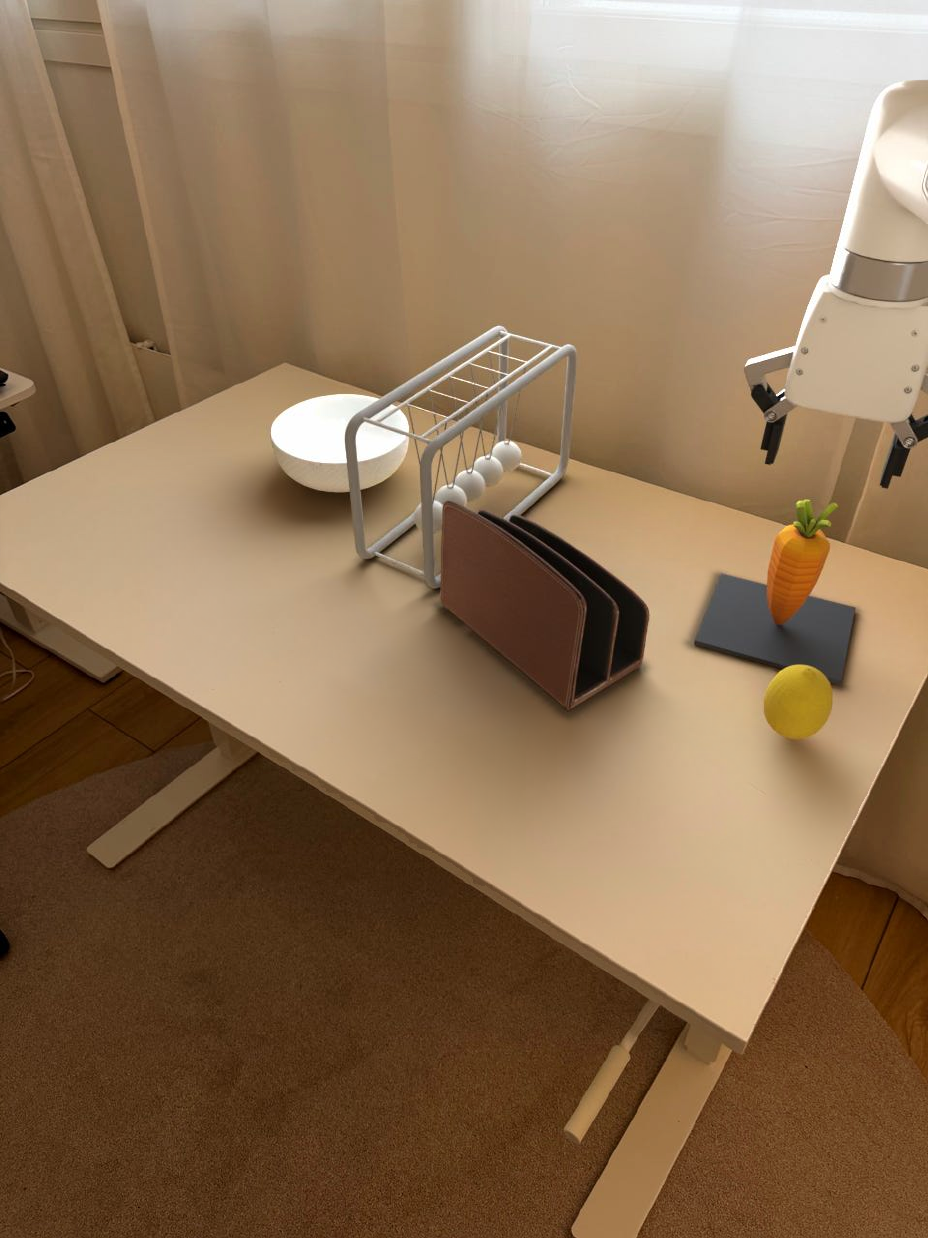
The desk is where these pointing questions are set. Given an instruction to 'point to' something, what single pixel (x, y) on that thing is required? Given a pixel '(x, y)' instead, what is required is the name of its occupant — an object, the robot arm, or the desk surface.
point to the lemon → (798, 701)
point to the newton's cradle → (485, 468)
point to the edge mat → (776, 629)
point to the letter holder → (540, 602)
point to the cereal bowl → (336, 442)
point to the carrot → (797, 562)
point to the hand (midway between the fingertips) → (826, 468)
